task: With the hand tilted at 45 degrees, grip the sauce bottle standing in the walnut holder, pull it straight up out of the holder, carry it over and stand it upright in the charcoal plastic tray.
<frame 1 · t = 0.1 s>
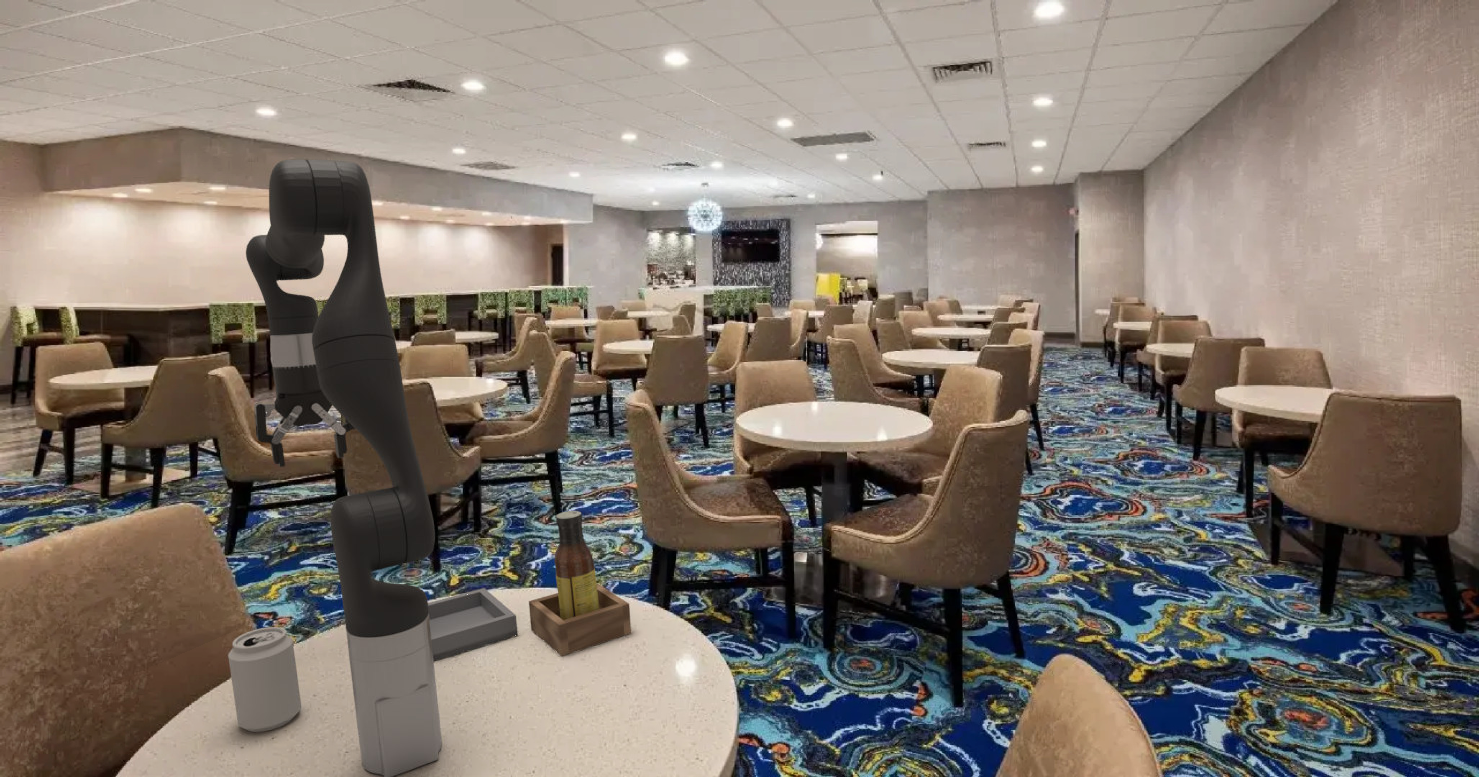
hand: (311, 461, 133), 29 cm above the table, tool pointing down, fingers open, 8 cm apart
tray: (456, 633, 135), on the table
can: (270, 721, 111), on the table
bottle holder: (580, 631, 134), on the table
sauce bottle: (580, 633, 134), resting in bottle holder
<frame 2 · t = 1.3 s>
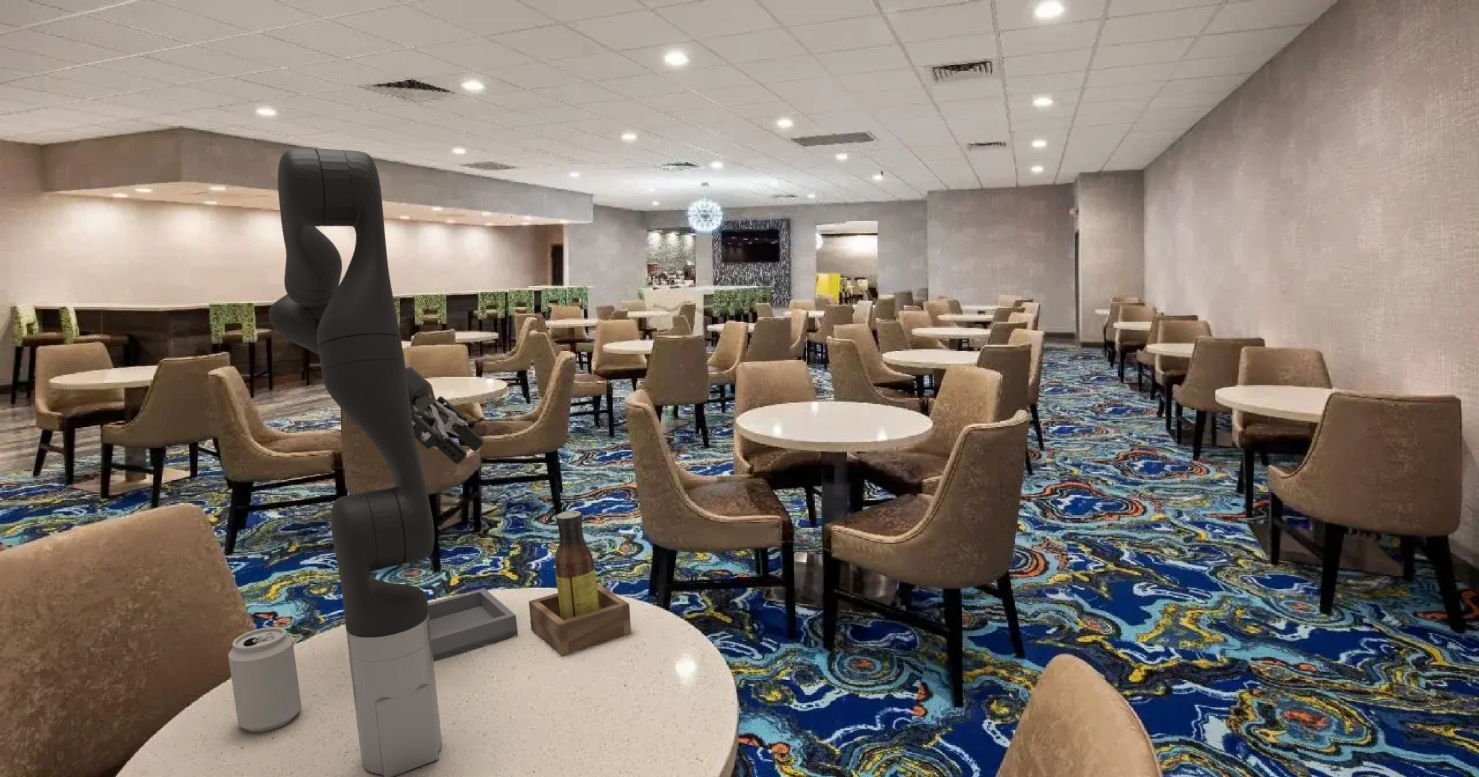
hand: (471, 453, 129), 30 cm above the table, tool tilted 45°, fingers open, 8 cm apart
nothing on the table moved.
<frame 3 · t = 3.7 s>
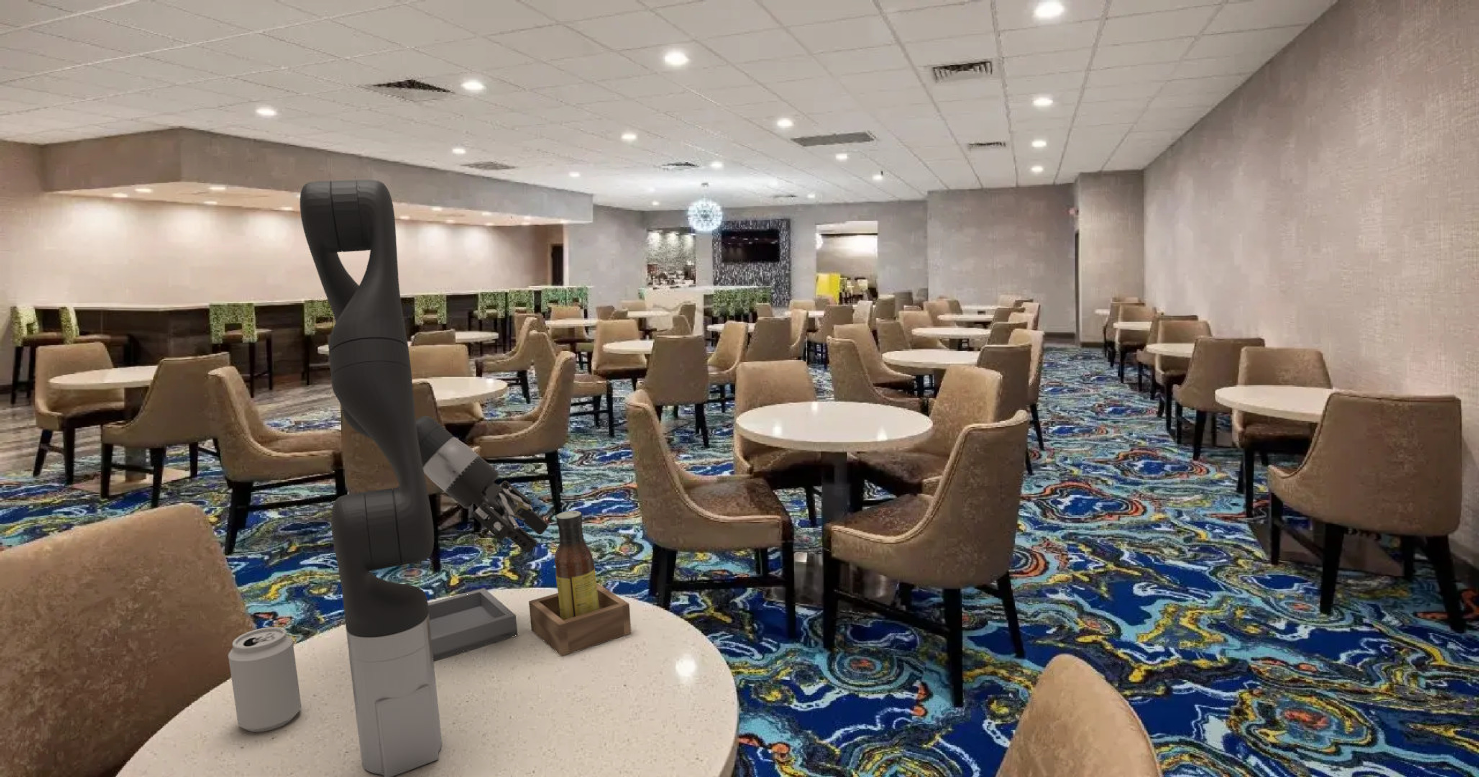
hand: (539, 538, 131), 16 cm above the table, tool tilted 45°, fingers open, 8 cm apart
nothing on the table moved.
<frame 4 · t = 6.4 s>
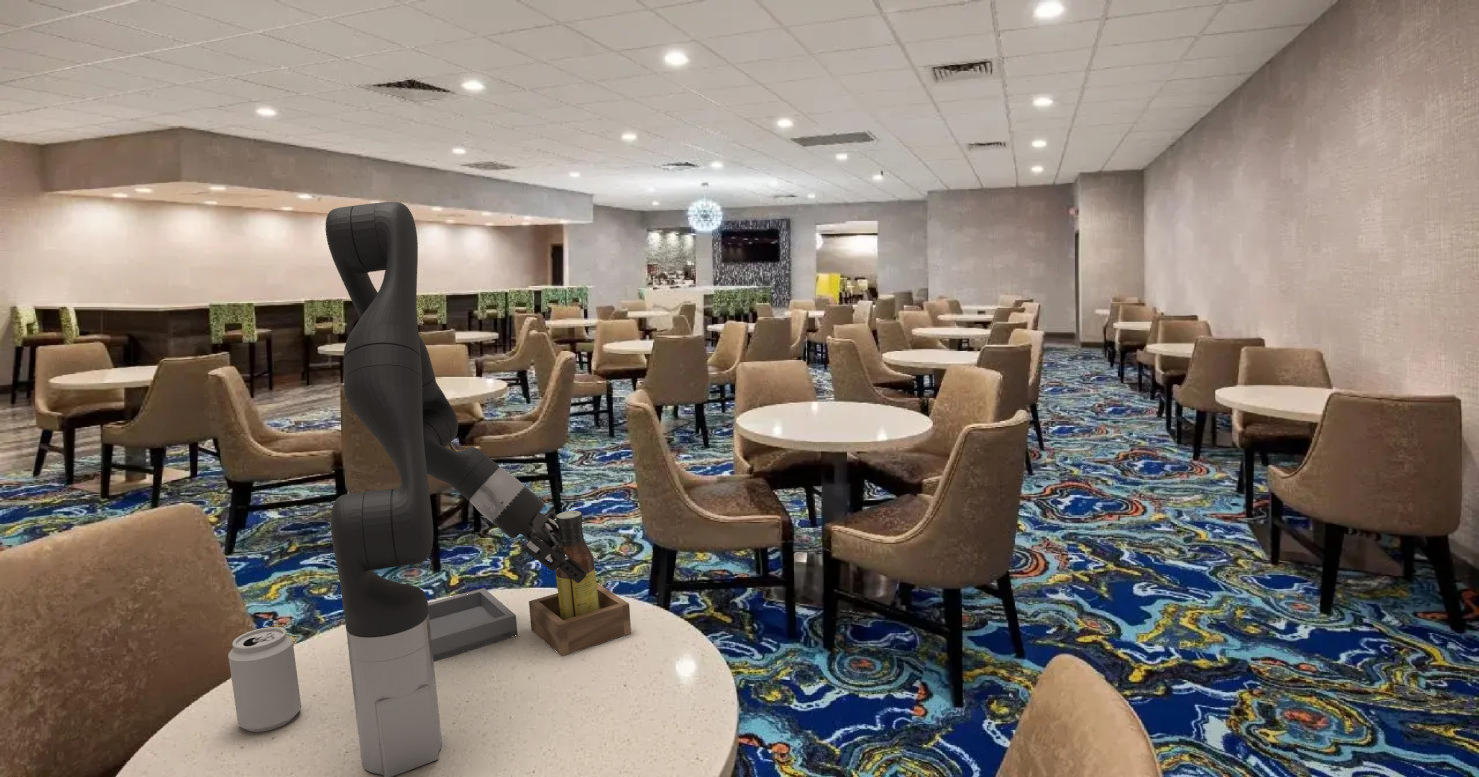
hand: (586, 570, 132), 10 cm above the table, tool tilted 45°, fingers closed on sauce bottle, 6 cm apart
sauce bottle: (580, 632, 134), resting in bottle holder, touching gripper
everything else where it was.
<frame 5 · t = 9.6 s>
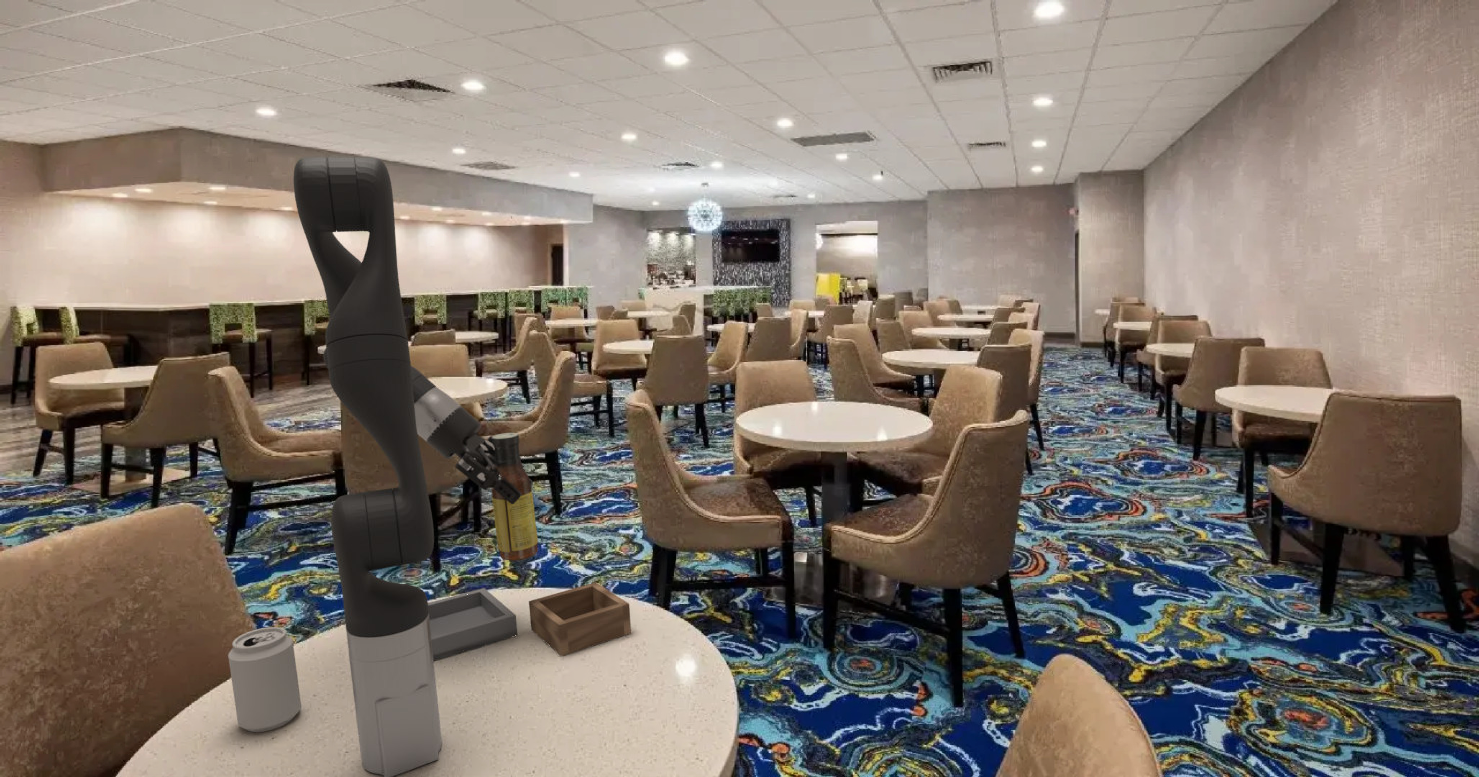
hand: (523, 493, 131), 23 cm above the table, tool tilted 45°, fingers closed on sauce bottle, 6 cm apart
sauce bottle: (517, 556, 133), point 13 cm above the table, touching gripper
everything else where it was.
when the fingers open (13 cm above the table, at t = 13.3 s): sauce bottle drops 1 cm, resting on tray.
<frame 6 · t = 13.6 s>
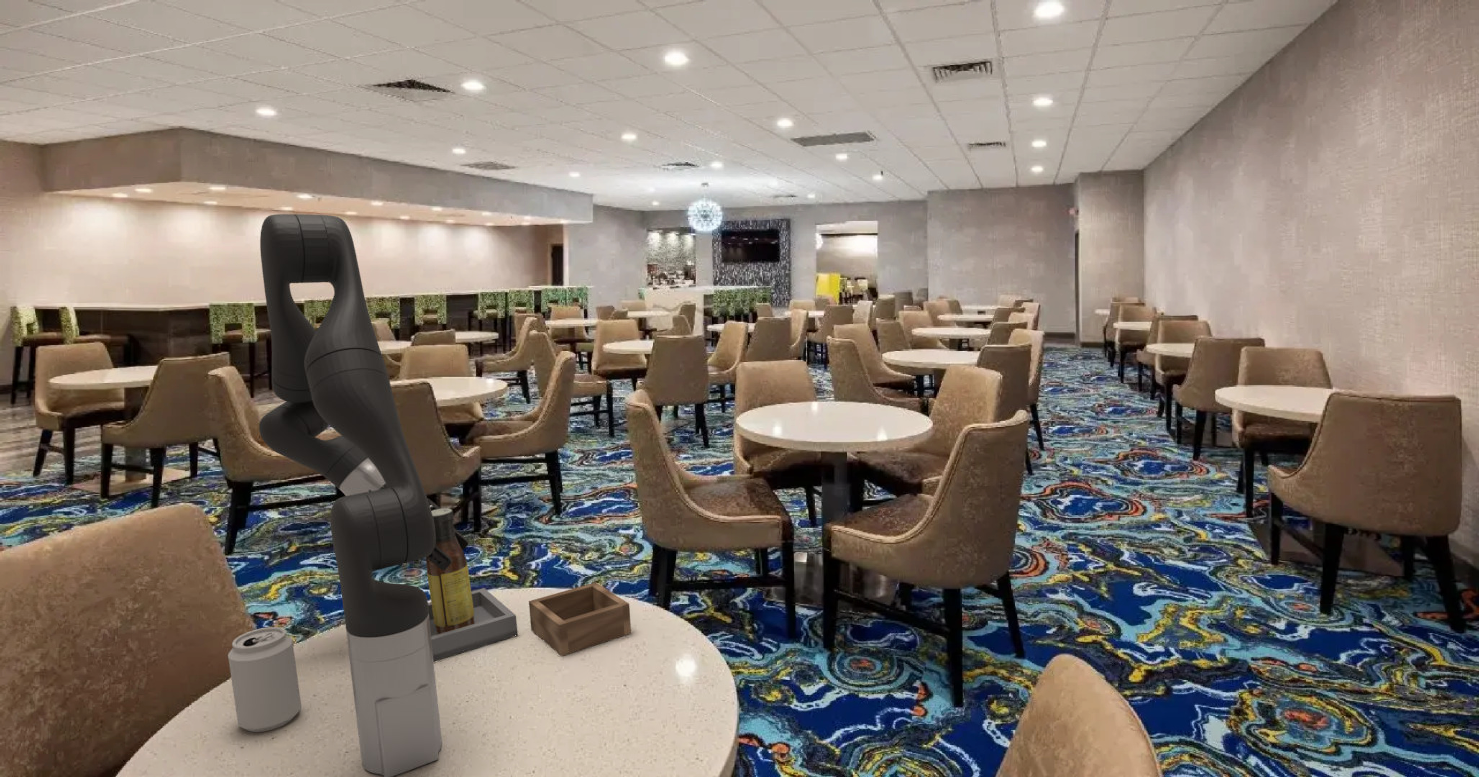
hand: (457, 556, 133), 13 cm above the table, tool tilted 45°, fingers open, 8 cm apart
sauce bottle: (454, 629, 135), point 1 cm above the table, touching tray
everything else where it was.
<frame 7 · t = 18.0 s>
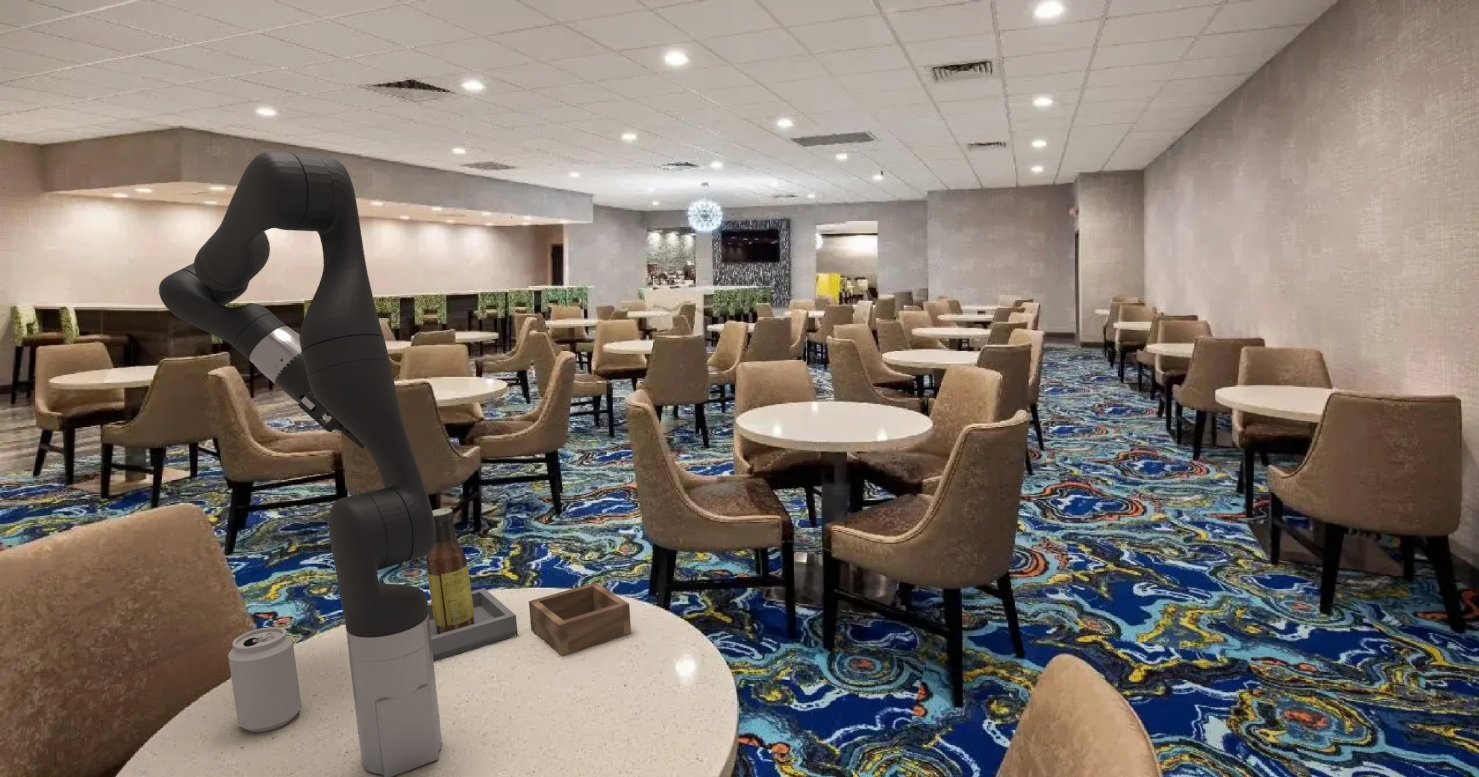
hand: (380, 437, 122), 35 cm above the table, tool tilted 45°, fingers open, 8 cm apart
nothing on the table moved.
at the end: sauce bottle inside the target area on the tray (0.3 cm from its centre), point 0.8 cm above the tray's base; sauce bottle tilted 0°; the gripper is holding nothing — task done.
